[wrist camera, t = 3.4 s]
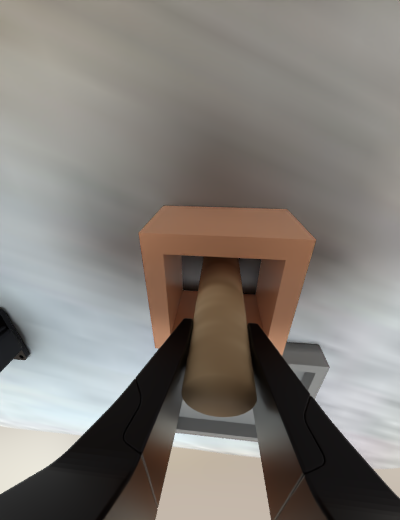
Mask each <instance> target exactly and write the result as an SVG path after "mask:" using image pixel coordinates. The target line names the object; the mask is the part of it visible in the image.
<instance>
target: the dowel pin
mask: <svg viewBox="0 0 400 520" xmlns="http://www.w3.org/2000/svg"><path fill="white" fill-rule="evenodd" d="M182 398H183V400H184V401H185V403H186V404H187V405H188V406H189V407H191V408H192V409H194V410H195V411H197V412H200V413H202V414H205V415H209V416H215V417H233V416H238V415H241V414H244V413H246V412H248V411H250V410H251V409H252V408H253V407H254V406H255V404H256V402H257V394H256V387H255V379H254V372H253V365H252V357H251V350H250V342H249V335H248V327H247V320H246V312H245V305H244V297H243V290H242V282H241V275H240V267H239V260H238V258H230V257H208V256H204V258H203V264H202V270H201V276H200V283H199V289H198V295H197V301H196V307H195V313H194V319H193V326H192V333H191V339H190V345H189V350H188V356H187V362H186V368H185V374H184V380H183V386H182Z"/></svg>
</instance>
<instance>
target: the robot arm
mask: <svg viewBox="0 0 400 520" xmlns="http://www.w3.org/2000/svg"><path fill="white" fill-rule="evenodd" d="M192 326H193V319H191V318H184V319H183V320H182V321H181V322H180V324H179V325H178V326H177V327H176V329H175V330H174V331H173V332H172V333H171V335H170V336H169V337H168V338H167V340H166V341H165V342H164V343H163V345H162V346H161V347H160V348H159V349H158V351H157V352H156V353H155V354H154V356H153V357H152V358H151V359H150V361H149V362H148V363H147V364H146V365H145V367H144V368H143V369H142V370H141V372H140V373H139V374H138V375H137V377H136V379H134V380H133V381H132V383H131V384H130V385H129V386H128V388H127V389H126V390H125V391H124V392H123V393H122V395H121V396H120V397H119V398H118V399H117V400H116V401H115V402H114V403H113V405H112V406H111V407H110V408H109V409H108V410H107V411H106V412H105V413H104V414H103V415H102V416H101V417H100V418H99V419H98V420H97V421H96V422H95V423H94V424H93V425H92V426H91V427H90V428H89V429H88V430H87V431H86V432H85V433H84V434H83V435H82V436H81V438H79V439H78V440H77V442H75V443H74V445H72V446H71V447H70V448H69V449H68V451H66V452H65V453H64V454H63V455H62V456H61V457H59V458H58V459H57V460H56V461H54V462H53V463H52V464H50V465H49V466H47V467H46V468H44V469H43V470H41V471H39V472H37V473H36V474H34V475H32V476H31V477H29V478H27V479H26V480H24V481H22V482H21V483H19V484H17V485H15V486H14V487H12V488H10V489H9V490H7V491H5V492H3V493H2V494H0V520H155V518H156V514H157V508H158V505H159V501H160V496H161V492H162V487H163V483H164V479H165V474H166V470H167V466H168V461H169V457H170V452H171V449H172V444H173V440H174V435H175V431H176V427H177V422H178V418H179V414H180V409H181V405H182V401H183V398H182V386H183V380H184V374H185V368H186V362H187V356H188V350H189V345H190V339H191V333H192ZM247 327H248V335H249V342H250V350H251V357H252V365H253V372H254V379H255V387H256V394H257V402H256V404H255V406H254V407H253V414H254V420H255V426H256V432H257V438H258V444H259V450H260V456H261V462H262V467H263V473H264V480H265V485H266V491H267V498H268V503H269V509H270V515H271V520H400V498H399V497H398V496H397V495H396V494H395V493H394V492H393V491H392V490H391V489H390V488H389V487H388V486H387V485H386V483H385V482H384V481H383V480H382V479H381V478H380V477H379V476H378V474H377V473H376V472H375V471H374V470H373V469H372V467H371V466H370V465H369V464H368V463H367V462H366V461H365V460H364V458H363V457H362V456H361V455H360V454H359V453H358V452H357V450H356V449H355V448H354V447H353V446H352V445H351V444H350V442H349V441H348V440H347V439H346V438H345V437H344V436H343V434H342V433H341V432H340V431H339V430H338V428H337V427H336V426H335V425H334V424H333V423H332V421H331V420H330V419H329V418H328V416H327V415H326V414H325V412H324V411H323V410H322V409H321V407H320V406H319V405H318V403H317V402H316V401H315V399H314V398H313V397H312V396H310V393H309V391H308V390H307V389H306V387H305V386H304V385H303V383H302V382H301V381H300V379H299V378H298V377H297V375H296V374H295V373H294V371H293V370H292V369H291V367H290V366H289V365H288V363H287V362H286V361H285V359H284V358H283V357H282V355H281V354H280V353H279V351H278V350H277V349H276V347H275V346H274V345H273V343H272V342H271V341H270V339H269V338H268V337H267V335H266V334H265V333H264V331H263V330H262V329H261V327H260V326H259V325H258V324H257V323H248V324H247ZM28 357H29V352H28V351H27V349H26V347H25V346H24V344H23V342H22V340H21V339H20V337H19V335H18V334H17V332H16V330H15V328H14V327H13V325H12V323H11V322H10V320H9V318H8V316H7V315H6V313H5V312H4V311H3V310H2V309H0V372H1V371H2V370H3V369H4V368H5V367H6V366H7V365H8V364H9V363H10V362H11V361H12V360H13V359H17V360H26V359H27V358H28Z"/></svg>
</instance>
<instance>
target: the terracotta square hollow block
mask: <svg viewBox="0 0 400 520" xmlns="http://www.w3.org/2000/svg"><path fill="white" fill-rule="evenodd" d="M139 239H140V246H141V253H142V260H143V267H144V274H145V281H146V288H147V295H148V301H149V308H150V315H151V322H152V329H153V336H154V343H155V348H160V347H161V346H162V345H163V343H164V342H165V341H166V340H167V338H168V337H169V336H170V335H171V333H172V332H173V331H174V330H175V329H176V327H177V326H178V325H179V324H180V322H181V321H182V320H183V319H184V318H191V319H194V313H195V307H196V301H197V295H198V291H188V290H183V275H182V255H187V256H208V257H230V258H251V259H261V264H260V270H259V276H258V282H257V288H256V294H243V297H244V305H245V312H246V320H247V324H248V323H257V324H258V325H259V326H260V327H261V329H262V330H263V331H264V333H265V334H266V335H267V337H268V338H269V339H270V341H271V342H272V343H273V345H274V346H275V347H276V349H277V350H278V351H279V353H280V354H281V355H283V351H284V348H285V345H286V341H287V338H288V334H289V331H290V328H291V324H292V321H293V317H294V314H295V311H296V307H297V304H298V300H299V297H300V293H301V290H302V287H303V283H304V280H305V276H306V273H307V270H308V266H309V263H310V259H311V256H312V252H313V249H314V246H315V242H316V239H315V238H314V237H313V236H312V235H311V234H310V233H309V232H308V231H307V230H306V229H305V228H304V227H303V225H302V224H301V223H300V222H299V221H298V220H297V219H296V218H295V217H294V216H293V215H292V214H291V213H290V212H289V211H288V210H287V209H264V208H230V207H195V206H163V207H162V208H161V209H160V210H159V211H158V212H157V213H156V214H155V215H154V217H153V218H152V219H151V220H150V221H149V222H148V223H147V224H146V225H145V226H144V227H143V229H142V230H141V231H140V232H139Z"/></svg>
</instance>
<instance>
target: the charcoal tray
mask: <svg viewBox="0 0 400 520" xmlns="http://www.w3.org/2000/svg"><path fill="white" fill-rule="evenodd" d="M282 357H283V358H284V359H285V361H286V362H287V363H288V365H289V366H290V367H291V369H292V370H293V371H294V373H295V374H296V375H297V377H298V378H299V379H300V381H301V382H302V383H303V385H304V386H305V387H306V389H307V390H308V391H309V393H310V396H312V397H313V398H314V399H315V397H316V395H317V393H318V391H319V389H320V387H321V385H322V382H323V380H324V378H325V376H326V374H327V372H328V370H329V368H330V367H329V365H328V363H327V360H326V358H325V356H324V354H323V352H322V350H321V348H320V346H319V345H313V344H300V343H287V342H286V345H285V348H284V351H283V355H282ZM175 433H183V434H192V435H200V436H209V437H218V438H227V439H236V440H245V441H254V442H258V438H257V432H256V426H255V420H254V414H253V408H252V409H251V410H250V411H248V412H246V413H244V414H241V415H238V416H233V417H215V416H209V415H205V414H202V413H200V412H197V411H195V410H194V409H192V408H191V407H189V406H188V405H187V404H186V403H185V401H184V400H183V401H182V405H181V409H180V414H179V418H178V422H177V427H176V431H175Z"/></svg>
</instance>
